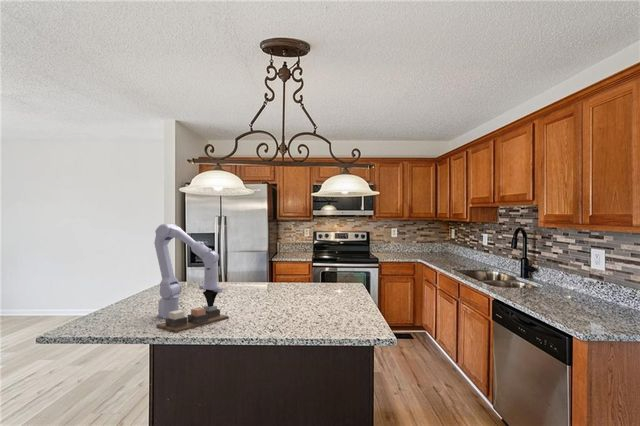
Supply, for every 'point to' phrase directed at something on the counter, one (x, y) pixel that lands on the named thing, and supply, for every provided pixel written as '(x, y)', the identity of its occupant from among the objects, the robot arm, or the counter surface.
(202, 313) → the salmon pink cube
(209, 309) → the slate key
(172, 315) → the cream cube
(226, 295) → the counter surface
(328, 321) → the counter surface
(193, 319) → the brown socket board
